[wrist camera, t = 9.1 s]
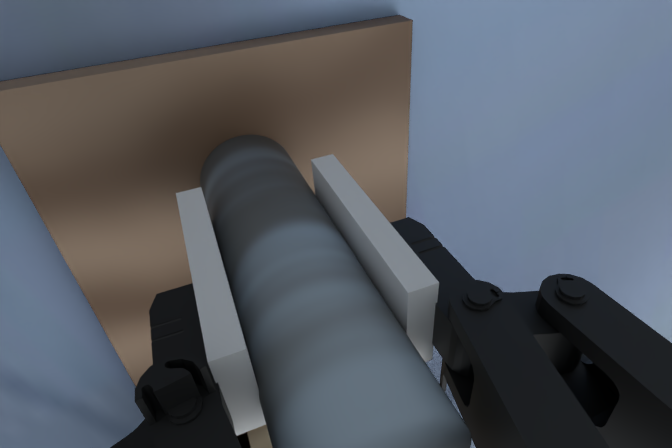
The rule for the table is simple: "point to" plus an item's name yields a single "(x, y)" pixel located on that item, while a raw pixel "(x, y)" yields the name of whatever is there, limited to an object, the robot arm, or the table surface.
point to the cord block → (315, 316)
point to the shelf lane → (196, 148)
